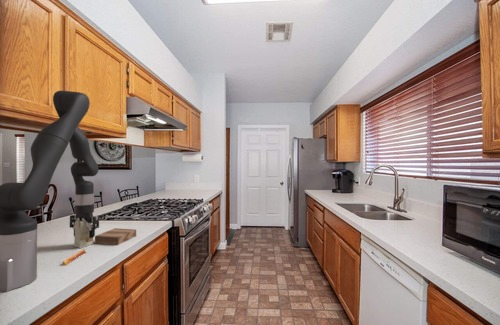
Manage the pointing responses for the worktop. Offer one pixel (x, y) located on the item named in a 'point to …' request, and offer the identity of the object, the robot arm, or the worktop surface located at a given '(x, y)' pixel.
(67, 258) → the chocolate bar
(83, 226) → the skincare box
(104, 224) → the worktop surface
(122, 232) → the walnut block
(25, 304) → the worktop surface
